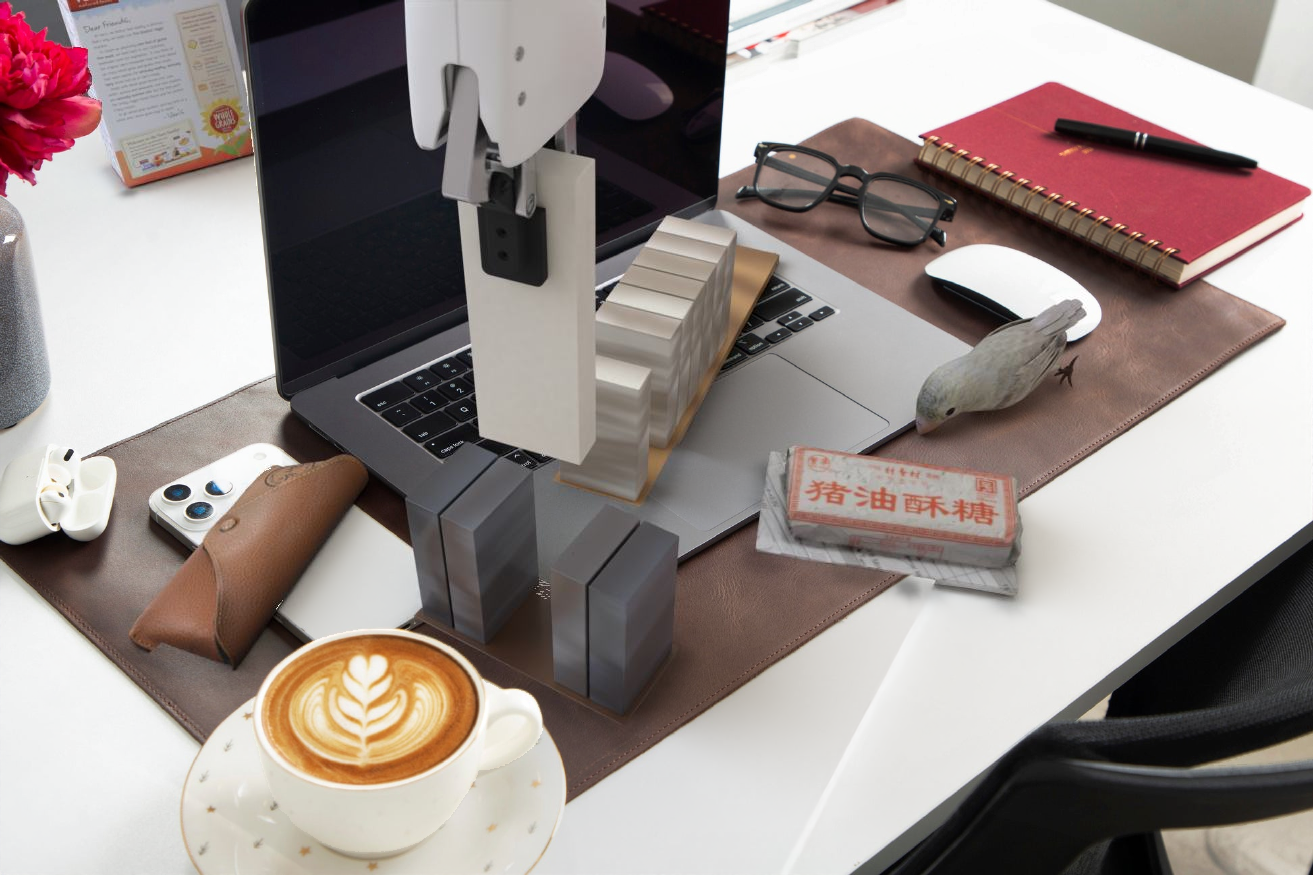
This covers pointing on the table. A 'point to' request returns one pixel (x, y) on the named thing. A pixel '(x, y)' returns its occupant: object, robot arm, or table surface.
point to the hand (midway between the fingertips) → (528, 259)
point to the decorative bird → (999, 367)
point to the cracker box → (163, 83)
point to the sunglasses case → (250, 560)
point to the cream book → (539, 322)
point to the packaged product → (892, 517)
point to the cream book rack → (664, 350)
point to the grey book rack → (581, 584)
